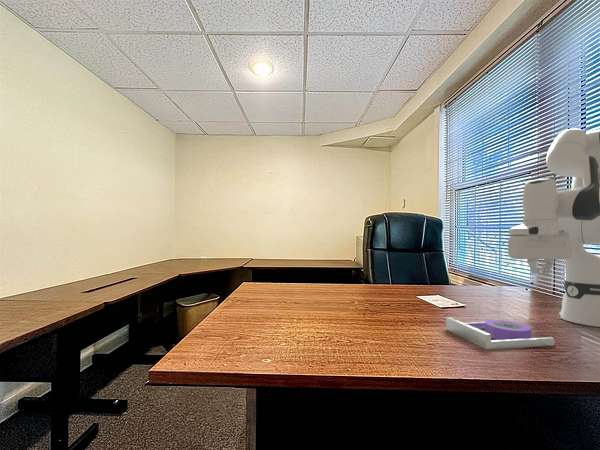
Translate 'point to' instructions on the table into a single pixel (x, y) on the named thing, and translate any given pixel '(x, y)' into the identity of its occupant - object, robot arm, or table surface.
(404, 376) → the table surface
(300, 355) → the table surface
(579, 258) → the robot arm
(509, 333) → the masking tape
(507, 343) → the guide channel
